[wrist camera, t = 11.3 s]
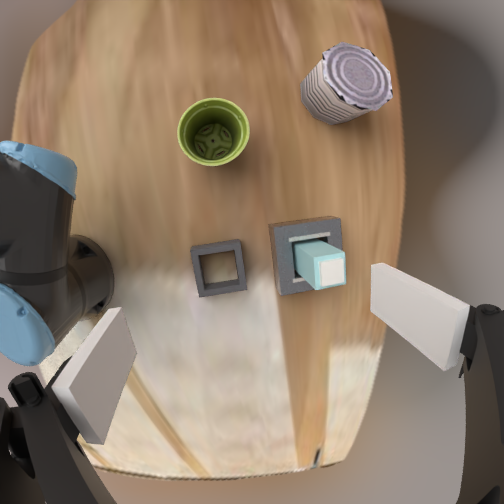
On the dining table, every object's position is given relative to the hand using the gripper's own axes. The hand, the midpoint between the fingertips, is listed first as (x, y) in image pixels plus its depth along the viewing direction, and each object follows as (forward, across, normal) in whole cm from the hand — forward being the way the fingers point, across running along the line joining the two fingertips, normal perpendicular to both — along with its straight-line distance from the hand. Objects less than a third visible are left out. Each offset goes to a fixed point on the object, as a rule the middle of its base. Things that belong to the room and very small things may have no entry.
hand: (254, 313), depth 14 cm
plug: (+32, +12, -6) cm, 35 cm away
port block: (+32, +13, -6) cm, 35 cm away
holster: (+32, -2, -6) cm, 33 cm away
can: (+33, +21, +21) cm, 44 cm away
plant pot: (+33, 0, +14) cm, 36 cm away
